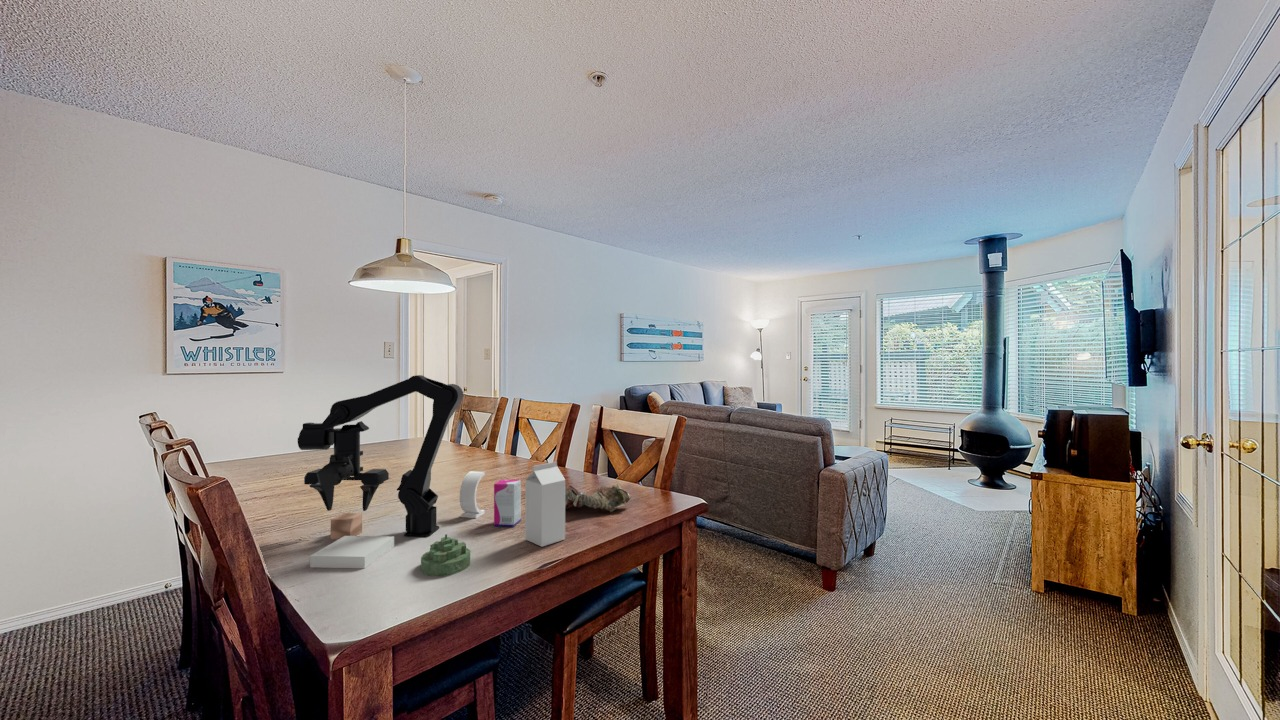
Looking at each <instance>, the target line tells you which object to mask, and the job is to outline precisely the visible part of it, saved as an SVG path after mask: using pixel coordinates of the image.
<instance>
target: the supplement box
mask: <svg viewBox="0 0 1280 720" xmlns="http://www.w3.org/2000/svg"><path fill="white" fill-rule="evenodd" d="M521 485H522V480H521V479H501V480H498V481H497V482H495V483H494V484H493V488H494V489H493V526H494V527H506V528H507V527H509V528H513V527H515V526H517V524H519V523H520V521H522V486H521Z"/></svg>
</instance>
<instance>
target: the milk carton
mask: <svg viewBox="0 0 1280 720" xmlns="http://www.w3.org/2000/svg"><path fill="white" fill-rule="evenodd" d="M532 469H533V470H532V471H531V473H530V474H528V476H527V477H526V478H525V480H524V481H525V482H524V487H525V488H524V490H525V491H524V496H525V497H524V500H525V501H524V502H525V503H524V504H525V505H524V510H525V511H524V534H525V535H524V540H525V541H528V542H530V543H533V544H535V545H536V546H540V547H546V546H549V545H552V544H555V543H557V542H561V541H563V540H565V539H566V509H565V487H566V478H565V477H564V475H563V473H562V472H561V470H560V469H559V467H558V461H554V462H552V461H551V462H548V463H542V464H537V465H533V467H532Z"/></svg>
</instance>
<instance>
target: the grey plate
mask: <svg viewBox="0 0 1280 720" xmlns="http://www.w3.org/2000/svg"><path fill="white" fill-rule="evenodd" d="M394 548H395V536H387V535H385V536H384V535H383V536H378V535H376V536H375V535H374V536H373V535H371V536H370V535H357V536H344V537H342V538H340V539H336V540H335V541H333V542H332V543H330V544H328V545H326V546H325V547H323V548H321V549H319V550H318V551H316V552H314V553H312V554H311V555H310V556H309V568H321V569H324V568H325V569H366V568H367V567H369V566H370V565H372V564H373V563H374V562H375V561H377V560H379V559H380V558H381V557H382V556H384V555H385V554H387V553H388V552H390V550H392V549H394Z"/></svg>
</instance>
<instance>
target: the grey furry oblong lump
mask: <svg viewBox="0 0 1280 720" xmlns="http://www.w3.org/2000/svg"><path fill="white" fill-rule="evenodd" d="M631 499H632V496H631V497H630V494H629V492H627V491H626V490H624V489H623V488H622V486H620V485H619V483H618V482H617V484H616V486H615V485H613V486H611V487H610V486H609V487H607V486H605V485H602V486H601V487H600V488H599V489H597V490H596V491H595V492H594V493H593V494H591V495H590V494H588V493H585V492H582V491H579V490H578V489H576V488H575V487H573V485H567V486H565V510H568V509H569V508H571V507H573V506H574V507H577V508H581V507H583V506H586V507H589V508H593V509H594V510H596V509H599V508H600V509H602V510H603V509H604V510H607V511H609V513H611V514H612V513H613V512H614V511H615V510H617V509H619V507H620V508H621V507H624V506H626V504H627V503H628V502H629V501H631Z"/></svg>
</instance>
